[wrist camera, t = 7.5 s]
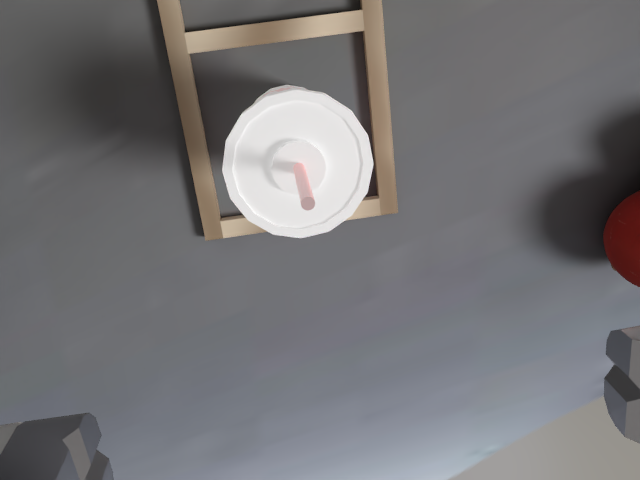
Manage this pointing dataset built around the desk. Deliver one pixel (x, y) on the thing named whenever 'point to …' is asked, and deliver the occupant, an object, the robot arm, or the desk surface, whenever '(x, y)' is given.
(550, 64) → the desk surface
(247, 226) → the wooden window frame
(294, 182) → the beverage cup
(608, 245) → the kendama
